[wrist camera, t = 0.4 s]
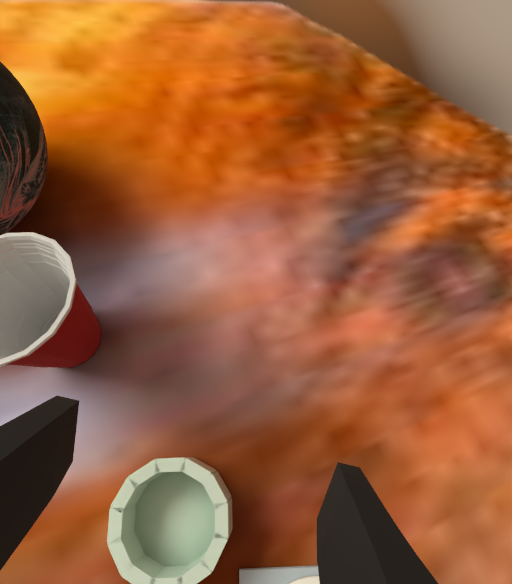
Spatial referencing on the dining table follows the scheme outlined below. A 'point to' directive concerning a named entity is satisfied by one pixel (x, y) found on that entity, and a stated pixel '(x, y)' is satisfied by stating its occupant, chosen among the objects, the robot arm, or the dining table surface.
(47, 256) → the plastic cup
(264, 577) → the mat
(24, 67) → the dining table surface
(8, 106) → the decorative sphere
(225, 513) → the bowl
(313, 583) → the lid
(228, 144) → the dining table surface
